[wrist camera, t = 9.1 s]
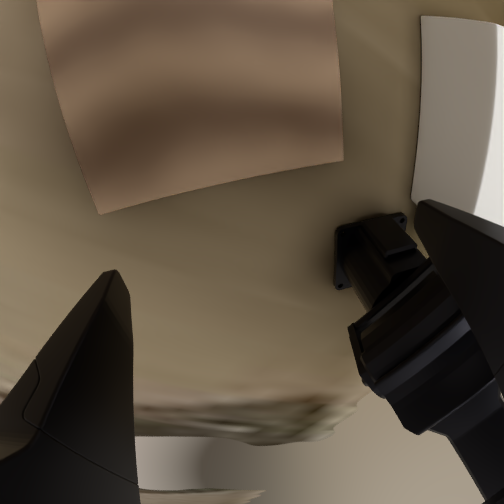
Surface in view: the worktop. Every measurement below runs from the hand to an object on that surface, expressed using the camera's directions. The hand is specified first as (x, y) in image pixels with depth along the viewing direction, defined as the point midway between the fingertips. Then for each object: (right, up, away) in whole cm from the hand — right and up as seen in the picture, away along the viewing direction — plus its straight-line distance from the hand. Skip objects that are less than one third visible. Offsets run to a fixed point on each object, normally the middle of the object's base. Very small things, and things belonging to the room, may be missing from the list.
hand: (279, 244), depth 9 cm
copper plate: (-4, +12, +5) cm, 14 cm away
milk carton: (+15, +15, +3) cm, 21 cm away
